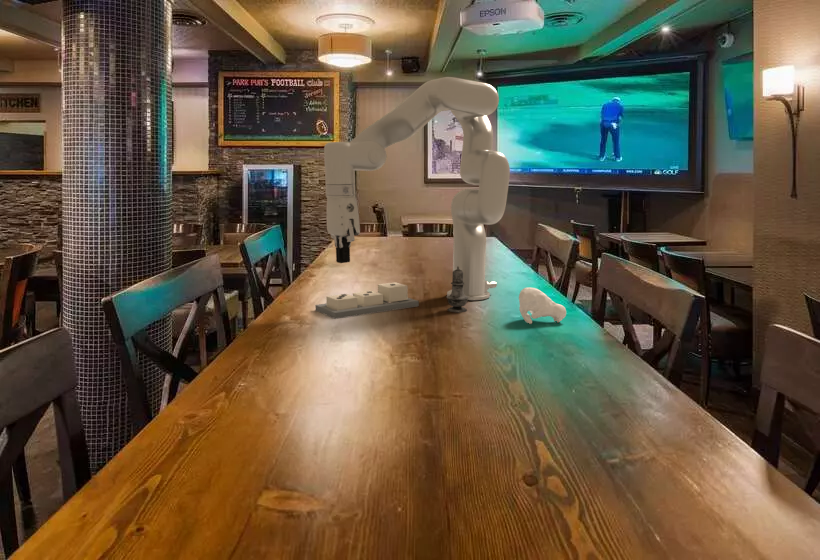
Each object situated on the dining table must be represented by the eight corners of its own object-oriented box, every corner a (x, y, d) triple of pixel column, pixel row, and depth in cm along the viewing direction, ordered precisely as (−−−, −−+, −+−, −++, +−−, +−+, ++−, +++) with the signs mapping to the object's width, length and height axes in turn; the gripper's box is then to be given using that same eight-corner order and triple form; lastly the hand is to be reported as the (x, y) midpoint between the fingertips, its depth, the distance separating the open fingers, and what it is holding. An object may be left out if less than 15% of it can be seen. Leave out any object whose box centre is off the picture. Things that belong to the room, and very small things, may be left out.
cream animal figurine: (519, 284, 157) (567, 290, 156) (515, 316, 158) (562, 322, 157) (520, 289, 151) (570, 295, 149) (516, 322, 152) (565, 329, 151)
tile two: (371, 304, 172) (371, 290, 171) (383, 308, 167) (383, 293, 167) (352, 307, 169) (352, 292, 168) (364, 311, 164) (363, 296, 163)
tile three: (346, 308, 168) (346, 293, 167) (357, 312, 163) (357, 296, 162) (326, 310, 164) (326, 295, 164) (337, 315, 159) (337, 299, 159)
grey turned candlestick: (466, 313, 163) (467, 268, 161) (444, 312, 164) (445, 267, 162) (469, 308, 169) (470, 264, 167) (447, 307, 170) (448, 264, 168)
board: (315, 310, 165) (315, 304, 165) (396, 299, 180) (396, 294, 180) (335, 318, 156) (334, 312, 156) (418, 306, 171) (418, 300, 171)
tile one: (395, 296, 176) (395, 281, 176) (407, 299, 172) (407, 284, 171) (377, 298, 173) (377, 283, 172) (389, 302, 168) (389, 287, 167)
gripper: (368, 191, 154) (370, 264, 158) (339, 190, 166) (342, 257, 170) (341, 193, 150) (344, 267, 153) (314, 191, 162) (317, 260, 165)
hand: (343, 262), depth 161 cm, fingers closed
